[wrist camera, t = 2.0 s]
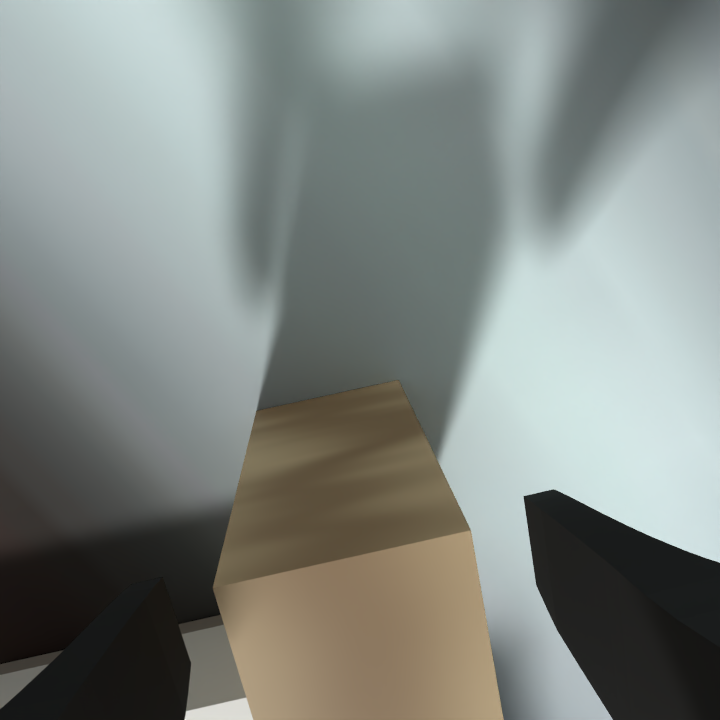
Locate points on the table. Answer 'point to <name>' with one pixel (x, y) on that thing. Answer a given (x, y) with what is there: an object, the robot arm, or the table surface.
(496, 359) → the table surface
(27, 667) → the socket block
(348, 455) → the oak peg
